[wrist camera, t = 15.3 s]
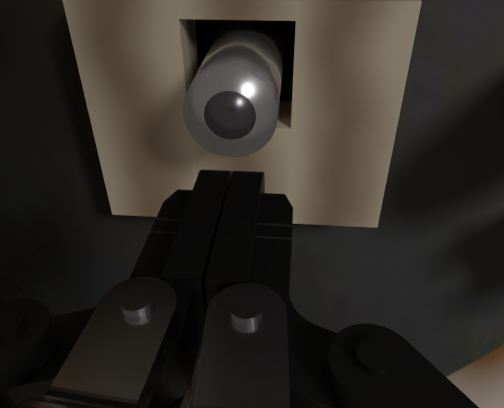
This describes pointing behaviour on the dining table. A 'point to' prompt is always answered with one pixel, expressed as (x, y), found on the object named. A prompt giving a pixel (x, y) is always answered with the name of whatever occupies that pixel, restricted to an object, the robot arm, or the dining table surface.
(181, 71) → the block
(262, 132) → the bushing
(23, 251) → the dining table surface
